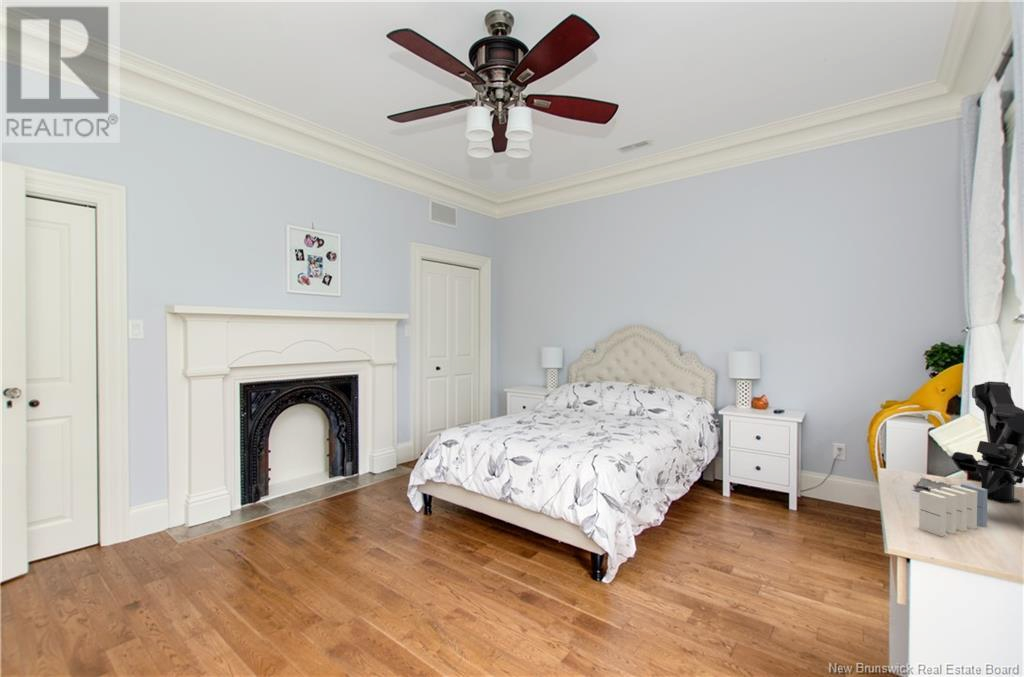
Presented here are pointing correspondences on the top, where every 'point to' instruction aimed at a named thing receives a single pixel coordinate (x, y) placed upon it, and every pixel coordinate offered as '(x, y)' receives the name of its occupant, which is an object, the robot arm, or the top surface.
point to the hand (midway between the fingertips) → (983, 493)
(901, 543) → the top surface
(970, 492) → the domino
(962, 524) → the domino
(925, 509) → the domino
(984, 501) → the domino
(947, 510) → the domino
